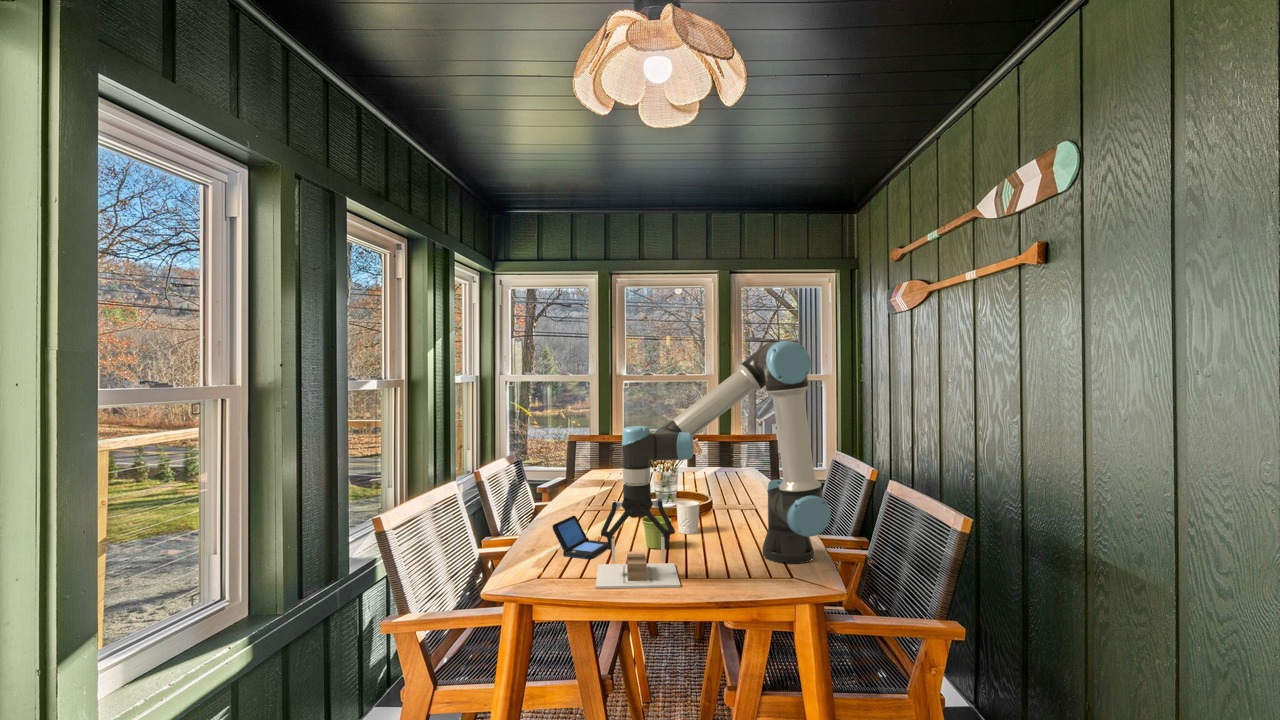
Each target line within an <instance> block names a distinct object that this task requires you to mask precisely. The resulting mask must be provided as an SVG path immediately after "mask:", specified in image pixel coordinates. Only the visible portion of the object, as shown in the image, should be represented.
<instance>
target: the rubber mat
mask: <svg viewBox="0 0 1280 720" xmlns="http://www.w3.org/2000/svg"><path fill="white" fill-rule="evenodd" d="M675 564H676V563H672V562H668V563H666V562H665V563H663V562H662V563H647V581H628V574H627V563H612V564H611V563H607V564H606V563H603V564H601V563H600V564H597V571H596V579H595V580H596V581H595V589H651V588H652V589H653V588H656V589H657V588H659V589H660V588H662V589H663V588H664V589H665V588H681V583H680V579H679V575H678V572H677V569H676V565H675Z"/></svg>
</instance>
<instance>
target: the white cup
mask: <svg viewBox="0 0 1280 720" xmlns="http://www.w3.org/2000/svg"><path fill="white" fill-rule="evenodd" d="M676 518H677V526H678V527H677V528H678V529H677V530H678V533H679V534H682V535H695V534H697V533H699V521H700V519H699V518H700V502H698V501H696V500H680V501H679V500H678V501H677V502H676Z"/></svg>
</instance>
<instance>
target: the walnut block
mask: <svg viewBox="0 0 1280 720" xmlns="http://www.w3.org/2000/svg"><path fill="white" fill-rule="evenodd" d="M626 562H627V563H626V564H627V574H628V581H647V564H648V563H647V557H646V552H645V551H626Z"/></svg>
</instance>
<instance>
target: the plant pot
mask: <svg viewBox="0 0 1280 720" xmlns="http://www.w3.org/2000/svg"><path fill="white" fill-rule="evenodd" d="M654 516H655V517H656V519H657V520H658V521H659V522H660V523H661V524H662V525H663V526H664V528H665V529H666V530H668V529H669V528H668V527H667V525H666V523H665V521H664V519H663V517H662V515H661V516H660V515H654ZM668 518H669V520H670V522H671V523H672V518H670V517H668ZM641 522H642V524H643V529H644V535H645V542H646V543H645V544H646V547H647V548H649V549H656V550H661V535H663V534H662V532H661V531H660V530H659V529H658V528H657V527H656V526H655V525H654V523H653V522H652V521H651V520H650V519H649V518H648V517H647V516H644V517H643V518H641Z"/></svg>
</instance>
